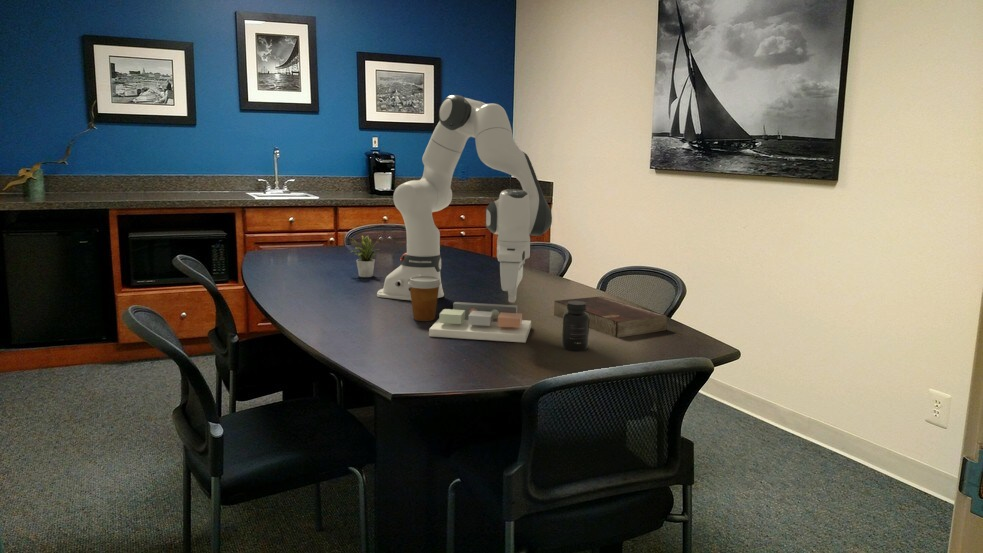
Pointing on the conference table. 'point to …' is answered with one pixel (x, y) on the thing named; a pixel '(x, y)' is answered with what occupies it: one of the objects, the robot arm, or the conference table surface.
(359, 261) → the house plant
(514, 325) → the terracotta key
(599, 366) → the conference table surface
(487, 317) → the grey key
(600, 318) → the hardback book
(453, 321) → the sage key
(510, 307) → the keypad
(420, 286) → the disposable coffee cup
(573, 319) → the supplement bottle
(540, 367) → the conference table surface
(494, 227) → the robot arm
